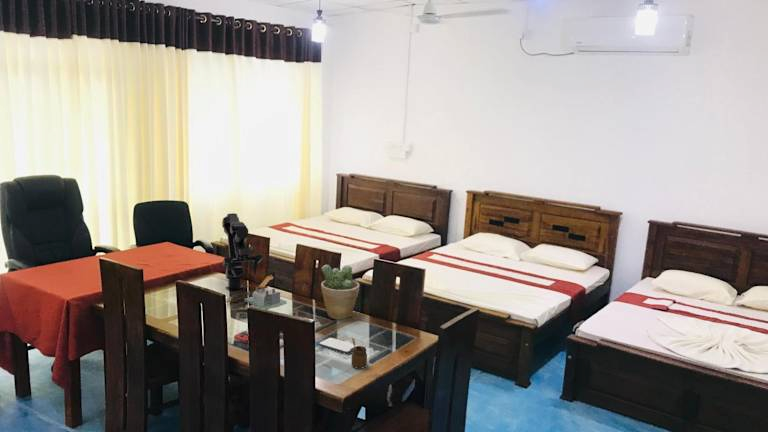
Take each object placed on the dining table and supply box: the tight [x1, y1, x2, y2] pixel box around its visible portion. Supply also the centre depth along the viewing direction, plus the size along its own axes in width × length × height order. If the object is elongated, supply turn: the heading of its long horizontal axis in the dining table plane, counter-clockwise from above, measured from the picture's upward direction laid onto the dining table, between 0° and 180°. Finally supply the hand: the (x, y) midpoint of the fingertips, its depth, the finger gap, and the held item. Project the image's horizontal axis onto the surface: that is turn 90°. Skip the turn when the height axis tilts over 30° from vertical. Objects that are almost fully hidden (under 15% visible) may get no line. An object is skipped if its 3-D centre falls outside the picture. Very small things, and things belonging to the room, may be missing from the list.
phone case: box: [317, 337, 359, 355], centre depth 237 cm, size 9×2×16 cm
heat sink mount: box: [243, 285, 287, 310], centre depth 288 cm, size 17×13×7 cm
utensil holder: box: [351, 337, 368, 369], centre depth 220 cm, size 6×6×12 cm
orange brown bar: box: [257, 274, 274, 290], centre depth 286 cm, size 12×3×2 cm
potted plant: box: [320, 264, 360, 320], centre depth 272 cm, size 18×19×25 cm
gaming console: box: [233, 330, 249, 344], centre depth 249 cm, size 24×2×10 cm
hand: (245, 276), depth 281 cm, fingers open, 9 cm apart
